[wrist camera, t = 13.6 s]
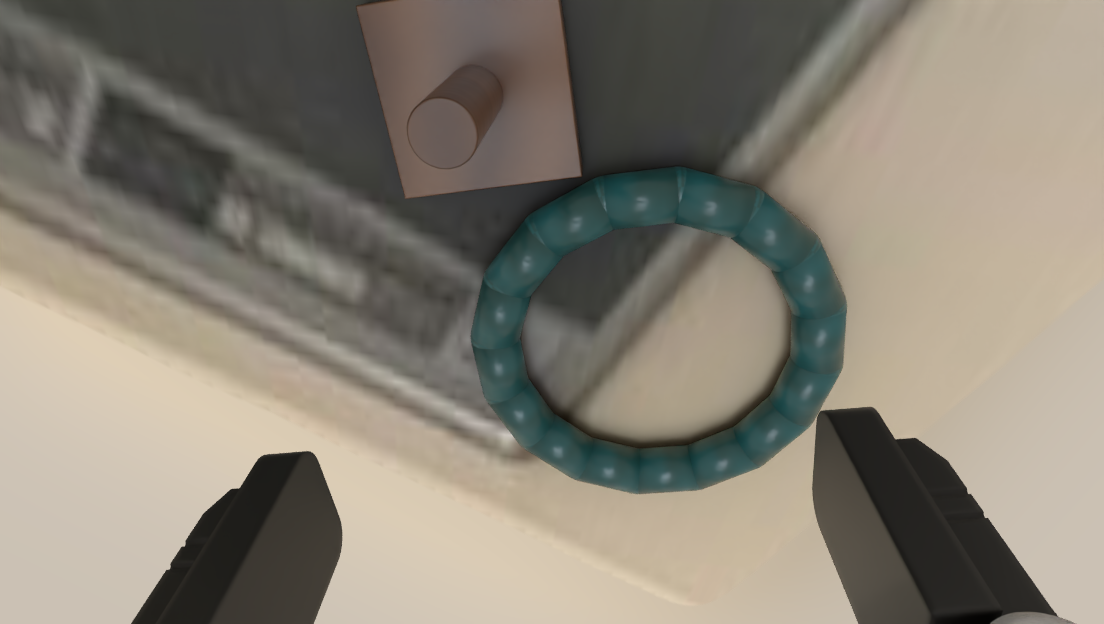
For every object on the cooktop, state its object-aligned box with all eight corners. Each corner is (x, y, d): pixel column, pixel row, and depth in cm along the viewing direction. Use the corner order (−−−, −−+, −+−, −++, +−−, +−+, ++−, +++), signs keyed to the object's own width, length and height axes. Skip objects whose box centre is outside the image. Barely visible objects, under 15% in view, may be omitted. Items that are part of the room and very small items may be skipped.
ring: (510, 482, 40) (505, 512, 38) (443, 188, 31) (432, 205, 29) (828, 459, 37) (842, 490, 35) (846, 138, 29) (865, 153, 27)
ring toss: (411, 190, 32) (360, 258, 25) (364, 3, 28) (288, 23, 21) (583, 168, 31) (578, 233, 24) (557, -29, 27) (543, -19, 20)
